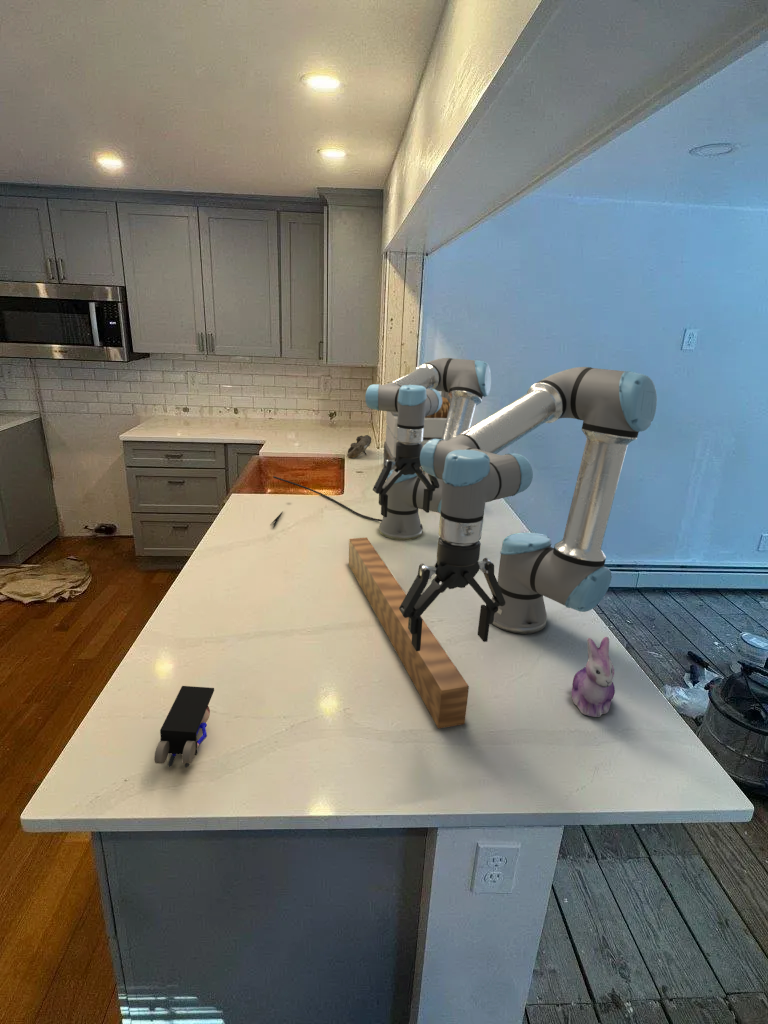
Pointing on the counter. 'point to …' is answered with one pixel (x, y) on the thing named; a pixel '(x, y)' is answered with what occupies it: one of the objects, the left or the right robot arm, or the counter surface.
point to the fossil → (359, 446)
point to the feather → (276, 520)
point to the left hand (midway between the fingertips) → (405, 513)
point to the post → (410, 639)
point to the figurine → (594, 681)
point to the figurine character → (184, 725)
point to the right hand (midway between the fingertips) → (449, 642)
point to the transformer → (431, 428)
